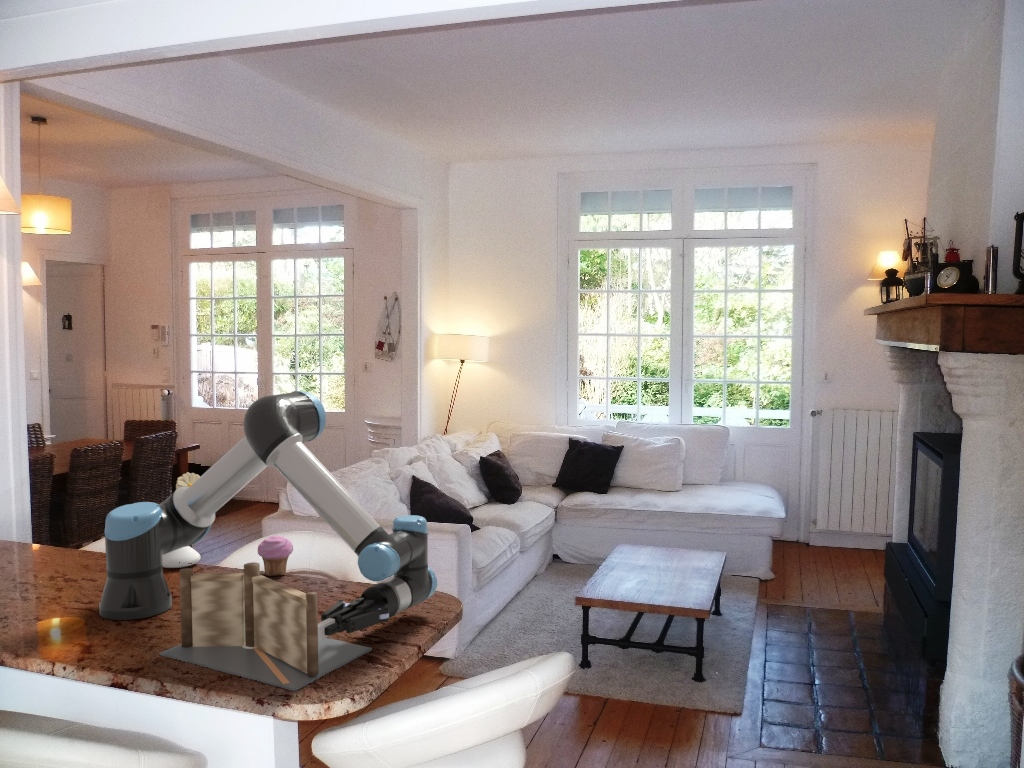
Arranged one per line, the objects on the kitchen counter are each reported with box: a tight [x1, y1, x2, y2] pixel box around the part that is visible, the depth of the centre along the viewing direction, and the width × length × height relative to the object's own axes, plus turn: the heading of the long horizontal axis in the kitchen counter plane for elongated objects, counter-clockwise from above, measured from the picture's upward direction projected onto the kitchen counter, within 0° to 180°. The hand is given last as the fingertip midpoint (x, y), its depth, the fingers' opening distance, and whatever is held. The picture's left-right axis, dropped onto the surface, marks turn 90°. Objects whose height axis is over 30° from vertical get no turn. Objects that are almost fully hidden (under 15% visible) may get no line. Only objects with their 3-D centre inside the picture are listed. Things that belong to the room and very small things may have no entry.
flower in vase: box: [162, 471, 201, 569], centre depth 231 cm, size 13×11×25 cm
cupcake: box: [257, 535, 294, 577], centre depth 224 cm, size 9×9×10 cm
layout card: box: [158, 637, 373, 692], centre depth 171 cm, size 35×22×1 cm, turn 62°
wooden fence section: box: [179, 561, 261, 648], centre depth 173 cm, size 16×3×16 cm, turn 92°
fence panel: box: [252, 574, 319, 676], centre depth 165 cm, size 21×2×15 cm, turn 45°
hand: (309, 636), depth 161 cm, fingers closed
